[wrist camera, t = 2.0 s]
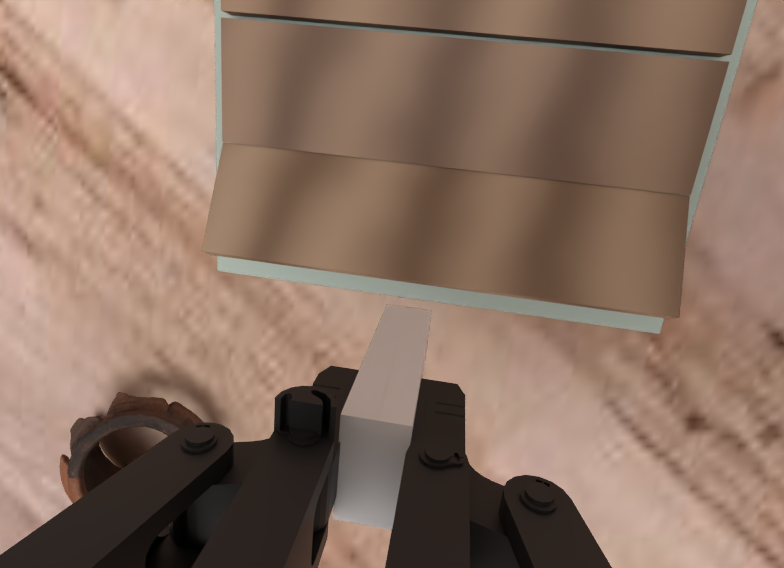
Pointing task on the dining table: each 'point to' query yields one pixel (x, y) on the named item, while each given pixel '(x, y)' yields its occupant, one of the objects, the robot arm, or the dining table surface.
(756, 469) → the dining table surface
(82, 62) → the dining table surface
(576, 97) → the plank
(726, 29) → the laid strip
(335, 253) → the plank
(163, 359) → the dining table surface
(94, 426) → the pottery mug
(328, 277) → the underlay mat
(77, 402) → the dining table surface
